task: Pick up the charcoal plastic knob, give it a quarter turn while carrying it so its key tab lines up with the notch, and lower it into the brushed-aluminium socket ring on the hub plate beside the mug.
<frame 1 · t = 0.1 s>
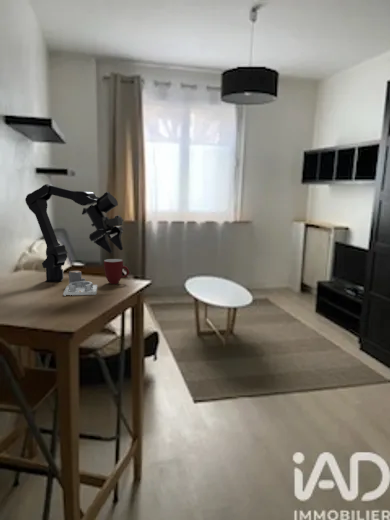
hand: (116, 251, 166), 15 cm above the table, tool tilted 30°, fingers open, 9 cm apart
mug: (116, 283, 175), on the table
hub: (81, 291, 159), on the table
knob: (75, 285, 168), on the table
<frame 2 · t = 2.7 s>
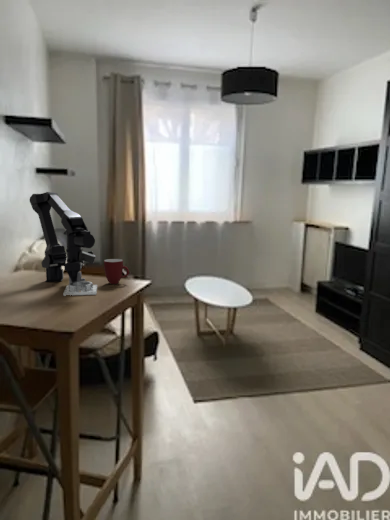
hand: (75, 283, 168), 1 cm above the table, tool pointing down, fingers closed on knob, 5 cm apart
knob: (75, 285, 168), on the table, touching gripper
everything else where it was.
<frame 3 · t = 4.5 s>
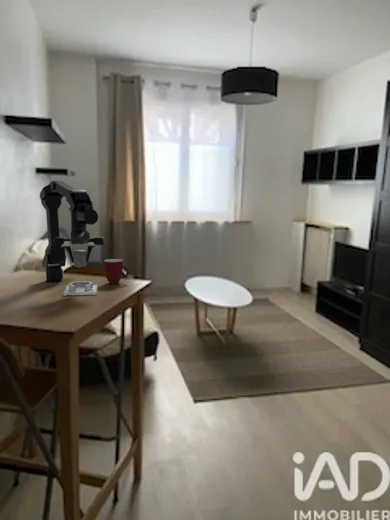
hand: (80, 262, 157), 11 cm above the table, tool pointing down, fingers closed on knob, 5 cm apart
knob: (80, 265, 158), point 10 cm above the table, touching gripper
everything else where it was.
when the fingers open (3 cm above the table, at t = 6.8 s): knob stays where it is, resting on hub.
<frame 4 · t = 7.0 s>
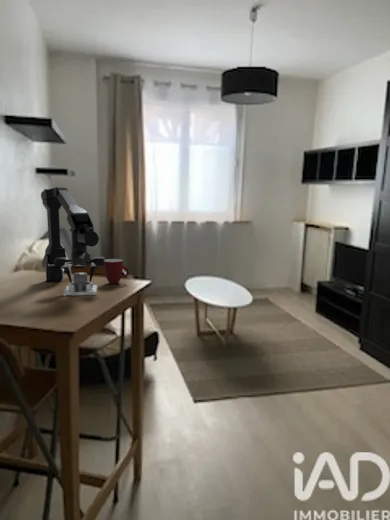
hand: (80, 283, 159), 3 cm above the table, tool pointing down, fingers open, 7 cm apart
knob: (81, 288, 159), point 1 cm above the table, touching hub
everything else where it was.
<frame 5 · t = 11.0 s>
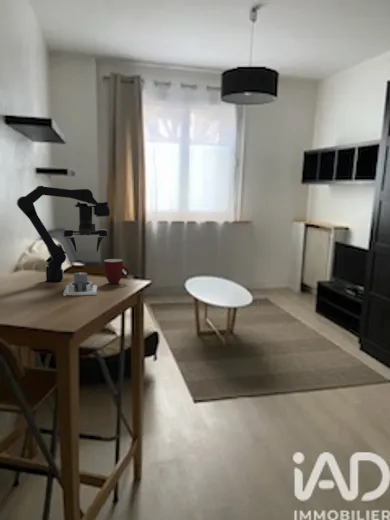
hand: (86, 251, 183), 12 cm above the table, tool pointing down, fingers open, 9 cm apart
nothing on the table moved.
at the end: knob 0.0 cm off-centre on the hub, point 1.2 cm above the hub's base; knob tilted 0°; the gripper is holding nothing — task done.
